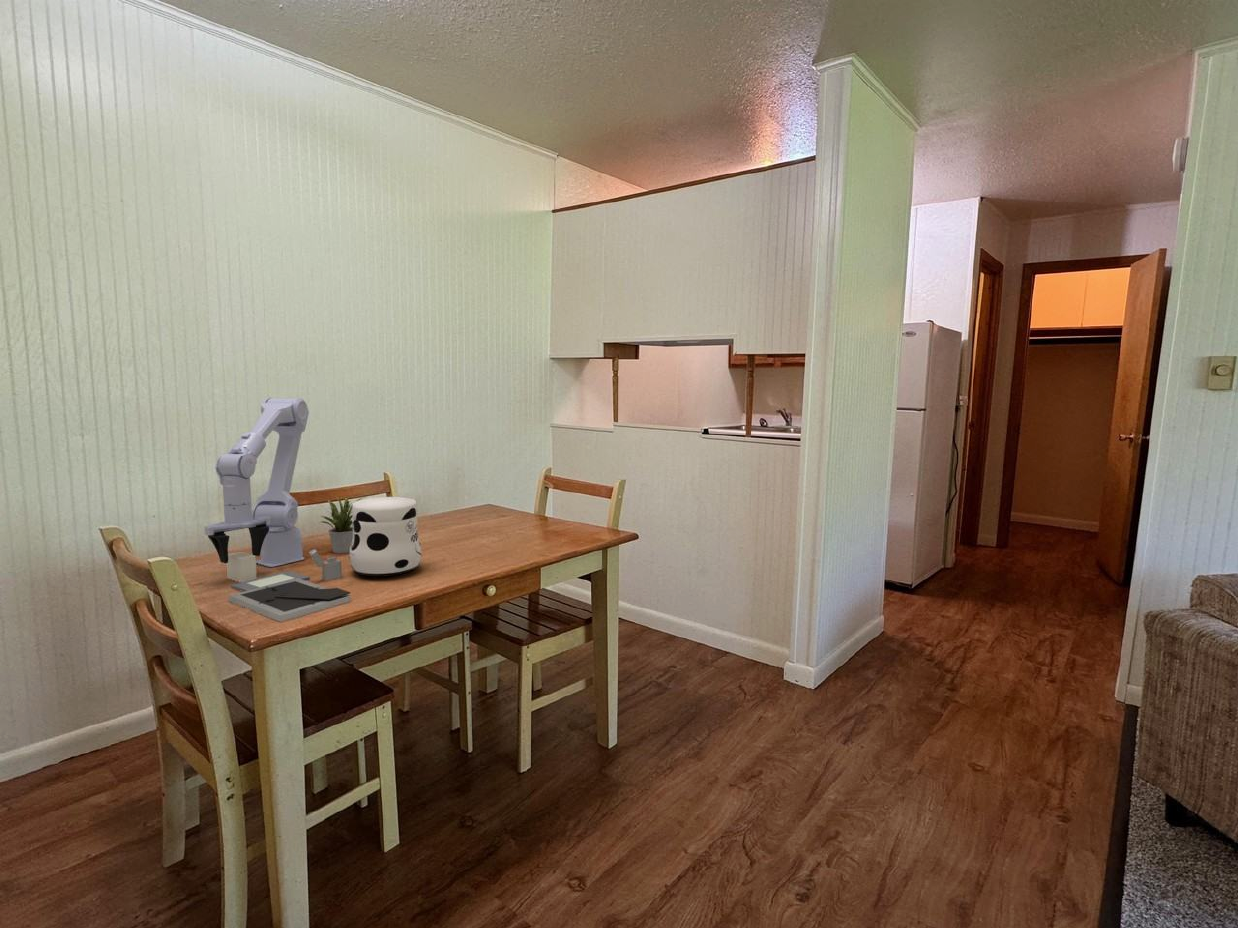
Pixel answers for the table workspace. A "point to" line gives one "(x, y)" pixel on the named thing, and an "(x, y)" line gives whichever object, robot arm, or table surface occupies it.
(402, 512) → the milk container
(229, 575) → the beige rectangular block
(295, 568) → the table surface
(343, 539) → the house plant
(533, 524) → the table surface
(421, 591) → the table surface
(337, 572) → the lighter
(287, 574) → the mat
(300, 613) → the picture frame
